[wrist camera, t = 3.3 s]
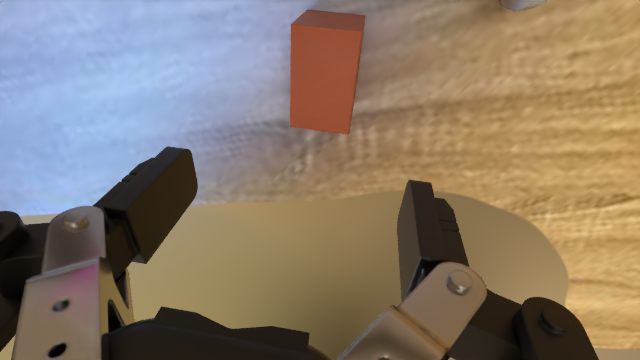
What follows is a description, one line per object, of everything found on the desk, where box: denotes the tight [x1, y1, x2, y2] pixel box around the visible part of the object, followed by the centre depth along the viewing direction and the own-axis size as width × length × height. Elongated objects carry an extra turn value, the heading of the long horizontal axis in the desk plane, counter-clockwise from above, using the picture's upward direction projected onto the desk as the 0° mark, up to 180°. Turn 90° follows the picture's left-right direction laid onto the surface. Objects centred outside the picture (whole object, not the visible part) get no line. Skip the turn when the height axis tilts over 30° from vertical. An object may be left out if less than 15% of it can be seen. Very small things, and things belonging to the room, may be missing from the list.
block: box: [290, 10, 365, 134], centre depth 24 cm, size 4×7×6 cm, turn 176°
